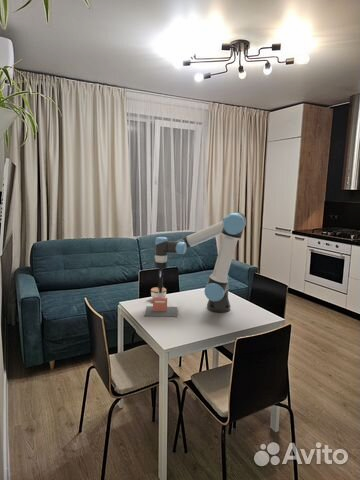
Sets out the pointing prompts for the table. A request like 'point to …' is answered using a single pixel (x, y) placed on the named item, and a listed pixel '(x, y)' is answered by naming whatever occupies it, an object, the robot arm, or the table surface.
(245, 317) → the table surface
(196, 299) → the table surface
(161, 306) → the deck
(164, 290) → the lidded jar
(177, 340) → the table surface
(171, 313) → the mat
